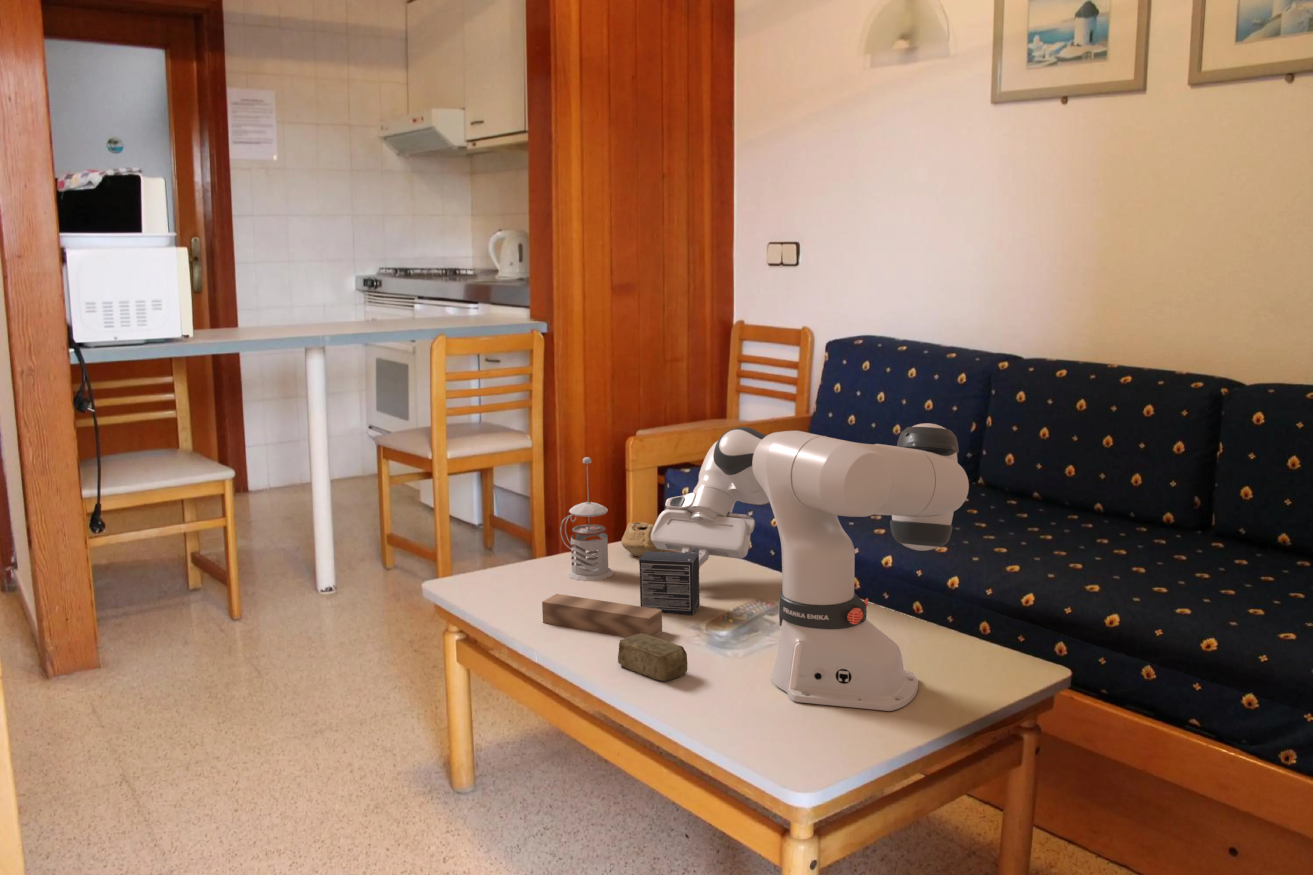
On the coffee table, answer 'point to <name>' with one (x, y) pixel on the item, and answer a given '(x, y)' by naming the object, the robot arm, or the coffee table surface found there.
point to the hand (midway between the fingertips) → (689, 570)
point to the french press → (588, 542)
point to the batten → (601, 616)
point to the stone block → (652, 657)
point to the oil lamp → (639, 539)
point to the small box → (670, 582)
